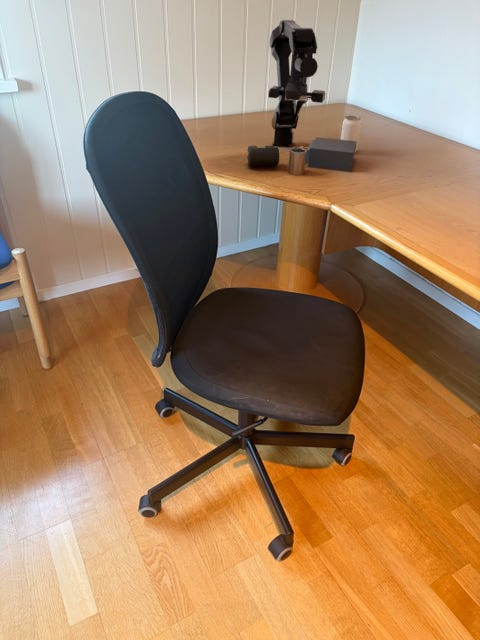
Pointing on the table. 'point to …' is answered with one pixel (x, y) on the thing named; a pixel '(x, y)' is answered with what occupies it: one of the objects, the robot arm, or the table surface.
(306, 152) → the drawer
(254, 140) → the table surface
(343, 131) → the can
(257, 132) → the table surface
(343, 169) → the cabinet
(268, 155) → the end cap
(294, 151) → the measuring cup
